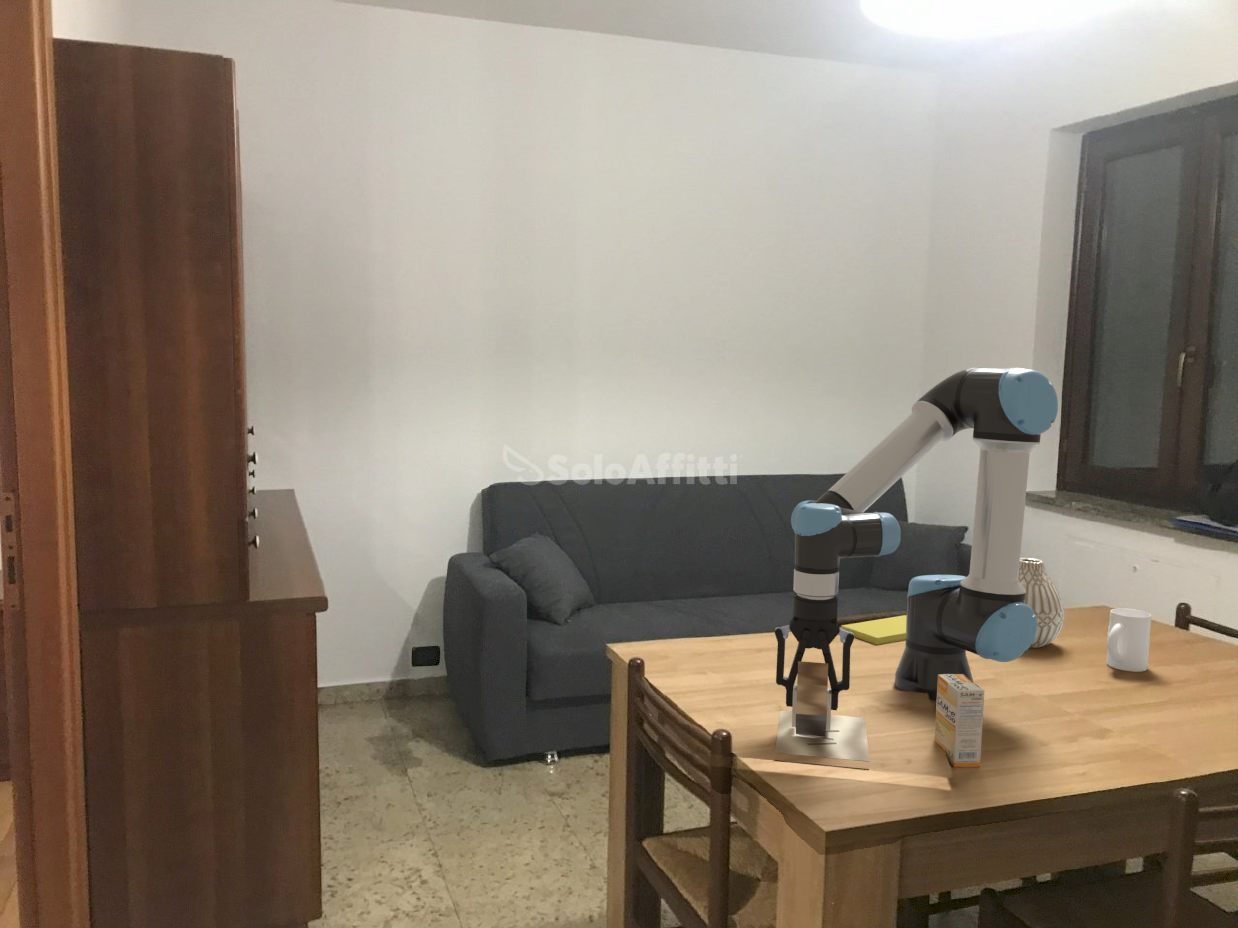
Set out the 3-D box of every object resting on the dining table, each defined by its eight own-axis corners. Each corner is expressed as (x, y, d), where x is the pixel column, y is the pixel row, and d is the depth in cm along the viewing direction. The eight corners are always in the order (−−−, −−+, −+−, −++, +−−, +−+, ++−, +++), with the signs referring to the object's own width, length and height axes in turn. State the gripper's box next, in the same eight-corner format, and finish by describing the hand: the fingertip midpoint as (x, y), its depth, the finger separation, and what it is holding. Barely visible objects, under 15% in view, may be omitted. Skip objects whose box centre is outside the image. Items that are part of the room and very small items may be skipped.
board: (864, 725, 176) (864, 717, 176) (868, 770, 157) (869, 760, 157) (780, 718, 179) (780, 709, 179) (774, 760, 160) (775, 751, 160)
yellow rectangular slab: (877, 646, 228) (948, 633, 240) (877, 637, 228) (949, 625, 240) (840, 634, 239) (911, 622, 251) (841, 625, 238) (911, 614, 250)
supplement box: (932, 747, 167) (936, 673, 165) (959, 747, 167) (963, 673, 166) (952, 767, 158) (957, 689, 157) (981, 767, 159) (985, 689, 157)
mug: (1088, 667, 213) (1092, 613, 212) (1117, 658, 220) (1120, 606, 219) (1126, 677, 207) (1130, 621, 205) (1154, 667, 214) (1158, 614, 212)
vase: (1074, 653, 224) (1080, 567, 221) (1004, 652, 224) (1009, 566, 222) (1045, 634, 239) (1050, 553, 237) (979, 632, 240) (984, 552, 238)
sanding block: (825, 736, 166) (827, 680, 172) (826, 720, 160) (828, 663, 165) (795, 733, 167) (798, 678, 173) (795, 718, 161) (798, 661, 166)
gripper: (869, 592, 169) (863, 722, 171) (763, 586, 172) (759, 713, 175) (871, 602, 161) (865, 738, 164) (760, 596, 165) (757, 728, 168)
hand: (811, 725), depth 169 cm, fingers closed on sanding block, 5 cm apart
